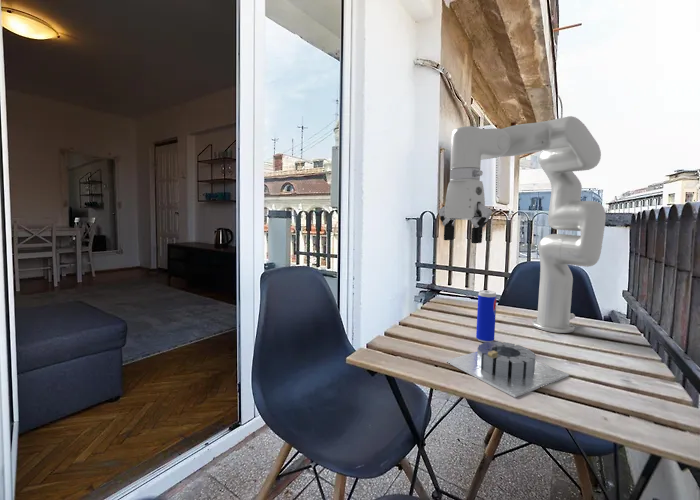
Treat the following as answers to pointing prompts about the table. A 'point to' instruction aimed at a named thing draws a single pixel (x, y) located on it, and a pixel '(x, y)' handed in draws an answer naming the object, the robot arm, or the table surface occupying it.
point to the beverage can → (486, 316)
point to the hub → (507, 368)
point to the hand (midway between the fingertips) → (462, 241)
